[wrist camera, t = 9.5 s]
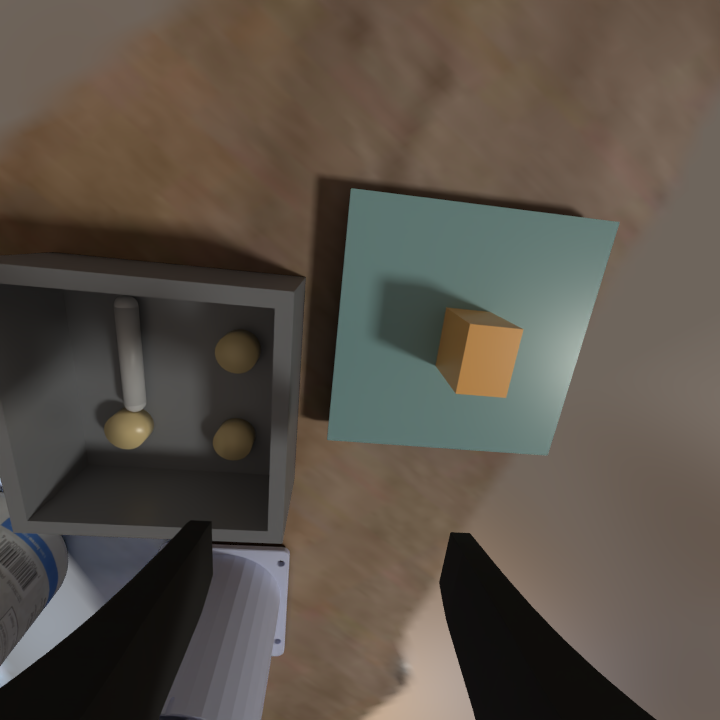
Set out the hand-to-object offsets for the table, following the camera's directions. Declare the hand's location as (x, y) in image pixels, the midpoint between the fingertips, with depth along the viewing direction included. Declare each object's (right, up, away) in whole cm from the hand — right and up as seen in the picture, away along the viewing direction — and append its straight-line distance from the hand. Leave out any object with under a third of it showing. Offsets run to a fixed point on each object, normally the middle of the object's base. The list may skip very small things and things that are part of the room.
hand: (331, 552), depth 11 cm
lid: (+6, +7, +9) cm, 13 cm away
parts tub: (-8, +5, +9) cm, 13 cm away
